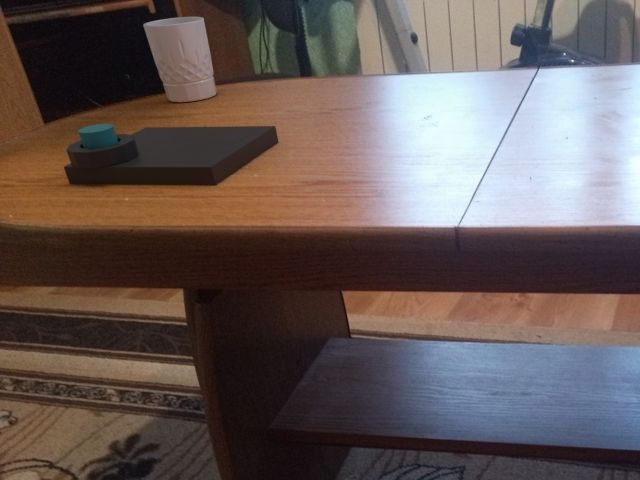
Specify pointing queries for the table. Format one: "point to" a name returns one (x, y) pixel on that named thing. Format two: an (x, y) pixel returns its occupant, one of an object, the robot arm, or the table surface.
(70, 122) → the table surface
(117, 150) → the scale
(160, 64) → the white cup
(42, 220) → the table surface
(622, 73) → the table surface
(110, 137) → the button
